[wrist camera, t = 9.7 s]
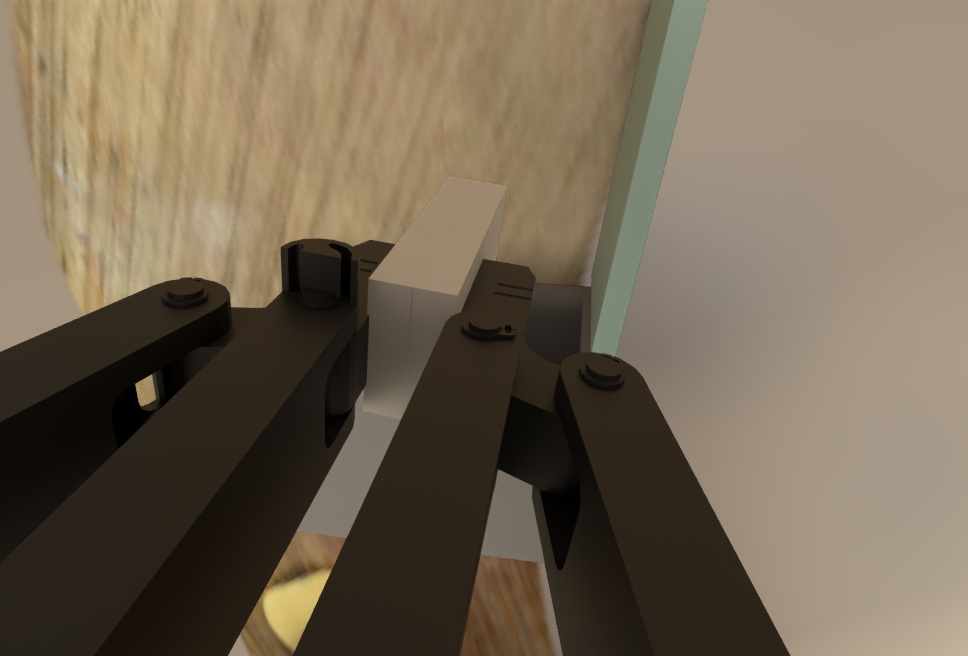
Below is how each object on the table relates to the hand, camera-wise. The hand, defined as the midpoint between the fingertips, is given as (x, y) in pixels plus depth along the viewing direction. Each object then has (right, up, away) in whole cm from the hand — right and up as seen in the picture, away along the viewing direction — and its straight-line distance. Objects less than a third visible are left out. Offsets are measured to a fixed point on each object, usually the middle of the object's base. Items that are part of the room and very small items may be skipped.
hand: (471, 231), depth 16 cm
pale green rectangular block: (+10, +9, +19) cm, 23 cm away
